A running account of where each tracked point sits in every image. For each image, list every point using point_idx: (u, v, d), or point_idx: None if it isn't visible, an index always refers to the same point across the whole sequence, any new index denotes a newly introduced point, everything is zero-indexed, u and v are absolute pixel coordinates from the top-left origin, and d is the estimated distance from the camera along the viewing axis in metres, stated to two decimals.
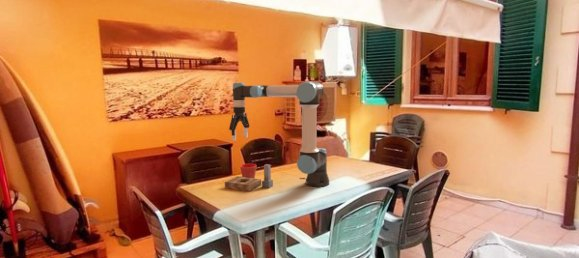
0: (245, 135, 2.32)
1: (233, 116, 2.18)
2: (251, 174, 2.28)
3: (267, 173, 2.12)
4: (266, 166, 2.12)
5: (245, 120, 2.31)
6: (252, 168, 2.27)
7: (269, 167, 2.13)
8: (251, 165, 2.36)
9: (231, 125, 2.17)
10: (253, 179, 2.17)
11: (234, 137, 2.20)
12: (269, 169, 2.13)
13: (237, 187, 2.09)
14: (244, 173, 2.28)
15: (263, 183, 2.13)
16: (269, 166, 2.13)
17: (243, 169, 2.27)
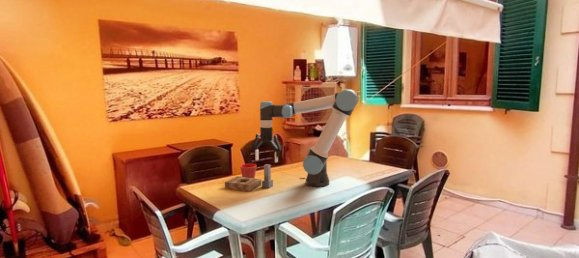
0: None
1: None
2: (251, 174, 2.28)
3: (267, 173, 2.12)
4: (266, 166, 2.12)
5: None
6: (252, 168, 2.27)
7: (269, 167, 2.13)
8: (251, 165, 2.36)
9: None
10: (253, 179, 2.17)
11: None
12: (269, 169, 2.13)
13: (237, 187, 2.09)
14: (244, 173, 2.28)
15: (263, 183, 2.13)
16: (269, 166, 2.13)
17: (243, 169, 2.27)
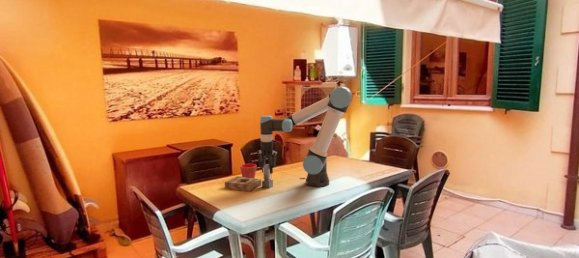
0: None
1: None
2: (251, 174, 2.28)
3: (267, 173, 2.12)
4: (266, 166, 2.12)
5: None
6: (252, 168, 2.27)
7: None
8: (251, 165, 2.36)
9: None
10: (253, 179, 2.17)
11: None
12: None
13: (237, 187, 2.09)
14: (244, 173, 2.28)
15: (263, 183, 2.13)
16: None
17: (243, 169, 2.27)
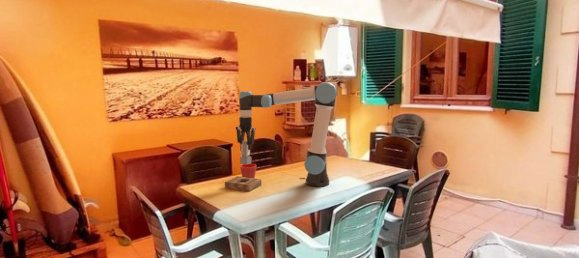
0: None
1: None
2: (251, 174, 2.28)
3: (245, 149, 2.11)
4: (244, 142, 2.11)
5: None
6: (252, 168, 2.27)
7: (247, 143, 2.12)
8: (251, 165, 2.36)
9: None
10: (253, 179, 2.17)
11: None
12: None
13: (237, 187, 2.09)
14: (244, 173, 2.28)
15: (241, 159, 2.12)
16: None
17: (243, 169, 2.27)
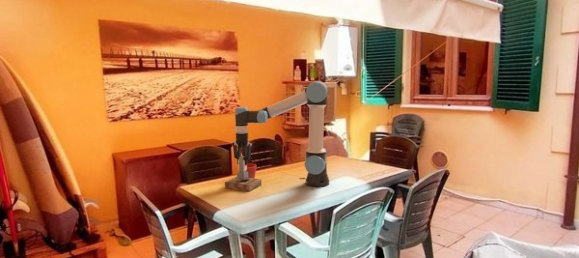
0: None
1: None
2: (251, 174, 2.28)
3: (242, 165, 2.12)
4: (241, 158, 2.12)
5: None
6: (252, 168, 2.27)
7: None
8: (251, 165, 2.36)
9: None
10: (253, 179, 2.17)
11: None
12: None
13: (237, 187, 2.09)
14: None
15: (238, 175, 2.13)
16: None
17: None
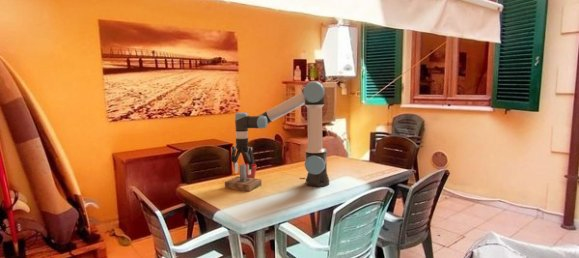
0: None
1: None
2: (251, 174, 2.28)
3: (243, 173, 2.13)
4: (242, 166, 2.13)
5: None
6: (252, 168, 2.27)
7: (245, 167, 2.14)
8: None
9: None
10: (253, 179, 2.17)
11: None
12: (245, 169, 2.14)
13: (237, 187, 2.09)
14: None
15: None
16: (245, 166, 2.14)
17: None
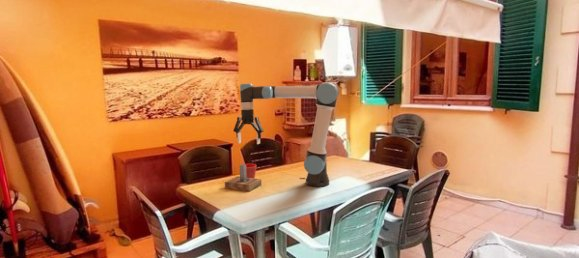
0: None
1: None
2: (251, 174, 2.28)
3: (243, 173, 2.13)
4: (241, 166, 2.13)
5: None
6: (252, 168, 2.27)
7: (245, 167, 2.14)
8: (251, 165, 2.36)
9: None
10: (253, 179, 2.17)
11: None
12: (245, 169, 2.14)
13: (237, 187, 2.09)
14: None
15: None
16: (245, 166, 2.14)
17: None
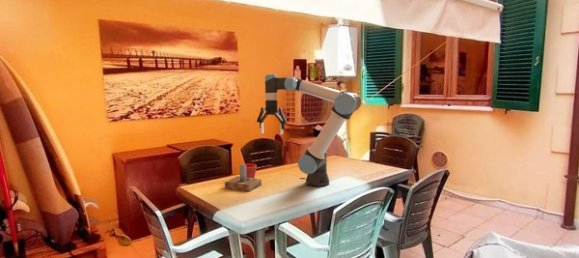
0: None
1: None
2: (251, 174, 2.28)
3: (243, 173, 2.13)
4: (241, 166, 2.13)
5: None
6: (252, 168, 2.27)
7: (245, 167, 2.14)
8: (251, 165, 2.36)
9: None
10: (253, 179, 2.17)
11: None
12: (245, 169, 2.14)
13: (237, 187, 2.09)
14: None
15: None
16: (245, 166, 2.14)
17: None
